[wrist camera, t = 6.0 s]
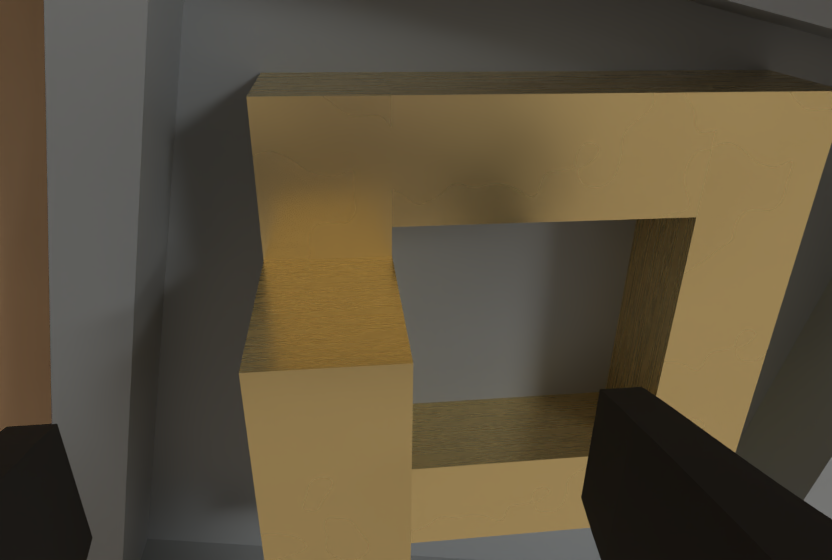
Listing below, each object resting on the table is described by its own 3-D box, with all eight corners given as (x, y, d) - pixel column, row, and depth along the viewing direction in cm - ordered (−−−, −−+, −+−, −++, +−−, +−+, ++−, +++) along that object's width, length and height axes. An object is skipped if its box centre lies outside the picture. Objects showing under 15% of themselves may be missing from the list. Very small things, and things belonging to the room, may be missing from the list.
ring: (768, 70, 12) (1039, 141, 7) (671, 453, 16) (805, 650, 11) (260, 73, 11) (209, 158, 6) (298, 480, 15) (284, 709, 10)
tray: (997, 14, 12) (1179, 30, 10) (674, 578, 19) (728, 679, 16) (122, -247, 9) (37, -329, 7) (102, 543, 16) (56, 662, 13)
